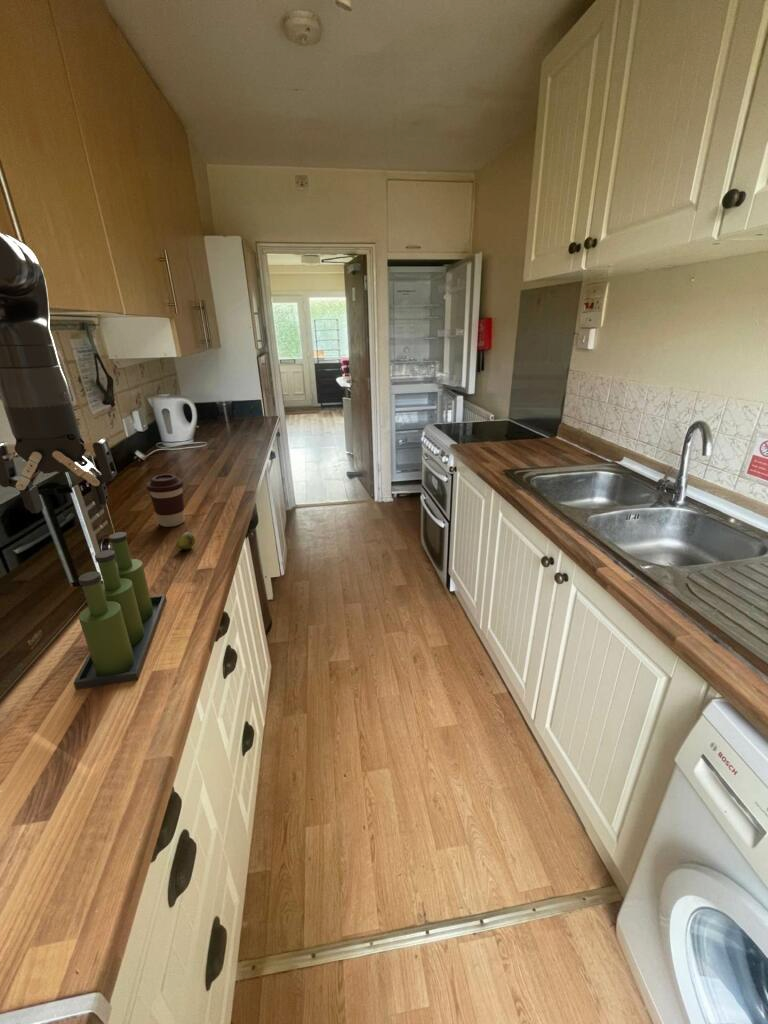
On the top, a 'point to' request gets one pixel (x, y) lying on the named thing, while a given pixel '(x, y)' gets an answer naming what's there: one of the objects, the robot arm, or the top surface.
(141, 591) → the bottle far
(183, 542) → the lime
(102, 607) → the bottle loose
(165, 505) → the coffee cup
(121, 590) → the bottle mid
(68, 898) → the top surface
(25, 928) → the top surface
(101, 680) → the tray
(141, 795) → the top surface
